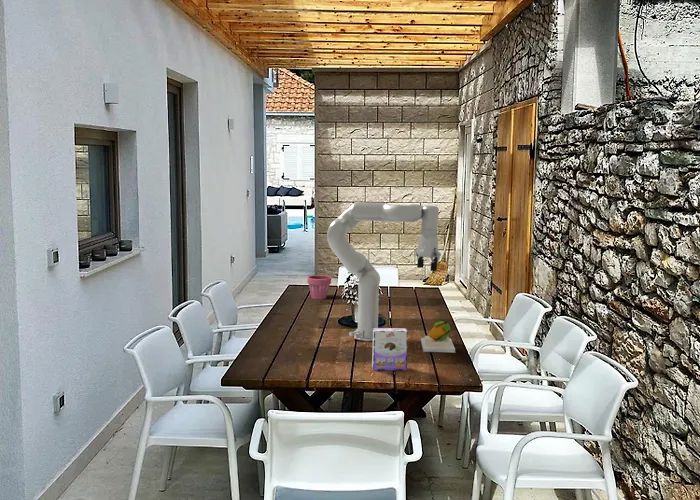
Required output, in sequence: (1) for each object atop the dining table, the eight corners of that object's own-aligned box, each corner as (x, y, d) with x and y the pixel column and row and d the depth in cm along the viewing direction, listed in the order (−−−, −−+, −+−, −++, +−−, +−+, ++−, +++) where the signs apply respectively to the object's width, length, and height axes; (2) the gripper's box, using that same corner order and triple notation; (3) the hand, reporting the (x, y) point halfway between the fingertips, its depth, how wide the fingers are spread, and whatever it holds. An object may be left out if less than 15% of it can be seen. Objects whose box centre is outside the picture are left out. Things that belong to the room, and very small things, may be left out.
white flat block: (455, 352, 334) (455, 344, 334) (423, 351, 335) (423, 343, 334) (450, 341, 354) (450, 334, 354) (420, 340, 354) (421, 333, 354)
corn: (453, 319, 350) (439, 327, 332) (453, 335, 351) (439, 344, 333) (438, 318, 354) (423, 326, 336) (438, 334, 354) (424, 343, 336)
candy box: (405, 367, 309) (406, 327, 307) (406, 371, 303) (408, 331, 301) (371, 366, 309) (372, 327, 307) (372, 370, 303) (373, 330, 301)
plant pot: (317, 301, 447) (317, 279, 445) (302, 297, 457) (302, 276, 455) (335, 298, 456) (335, 277, 455) (320, 294, 466) (320, 274, 465)
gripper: (411, 230, 353) (408, 266, 355) (434, 234, 339) (432, 272, 341) (423, 230, 357) (421, 266, 359) (447, 234, 343) (445, 271, 345)
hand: (426, 269), depth 350 cm, fingers open, 9 cm apart
